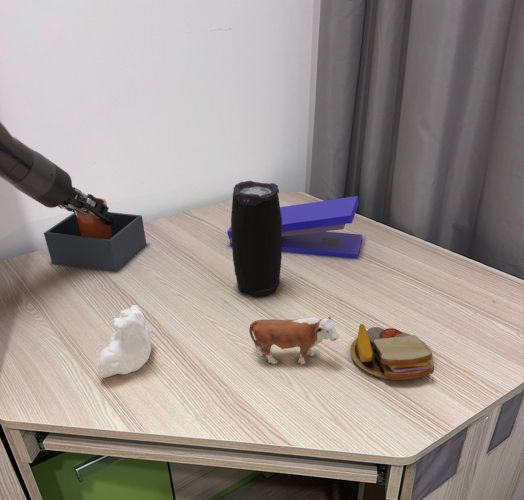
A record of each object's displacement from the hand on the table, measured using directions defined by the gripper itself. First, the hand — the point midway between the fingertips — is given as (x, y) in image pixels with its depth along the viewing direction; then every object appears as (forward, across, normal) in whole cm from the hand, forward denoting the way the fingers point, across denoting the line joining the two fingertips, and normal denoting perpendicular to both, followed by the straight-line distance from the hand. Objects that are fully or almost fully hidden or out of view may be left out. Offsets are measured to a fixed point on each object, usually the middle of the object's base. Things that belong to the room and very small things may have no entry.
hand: (99, 217), depth 112 cm
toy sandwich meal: (+2, -67, +10) cm, 68 cm away
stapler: (+23, -33, -11) cm, 42 cm away
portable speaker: (+8, -37, +4) cm, 38 cm away
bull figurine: (-3, -54, +15) cm, 56 cm away
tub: (+4, 0, +7) cm, 8 cm away
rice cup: (+2, 0, +5) cm, 5 cm away
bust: (-13, -33, +25) cm, 43 cm away
